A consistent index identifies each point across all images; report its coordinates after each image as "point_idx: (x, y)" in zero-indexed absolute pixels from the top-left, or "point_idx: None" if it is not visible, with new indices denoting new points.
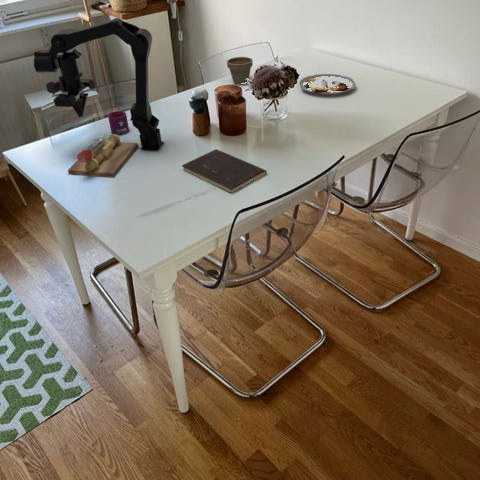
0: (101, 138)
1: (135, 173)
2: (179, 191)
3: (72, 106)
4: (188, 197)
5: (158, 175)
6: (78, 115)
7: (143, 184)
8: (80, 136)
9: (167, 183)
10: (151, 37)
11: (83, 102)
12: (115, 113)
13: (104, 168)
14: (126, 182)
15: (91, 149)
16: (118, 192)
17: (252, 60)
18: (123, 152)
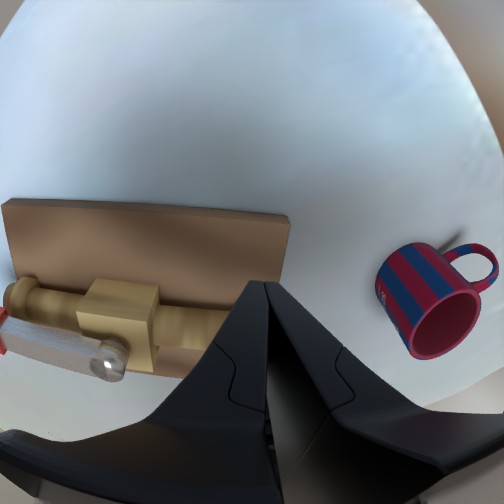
0: (112, 373)
1: (89, 385)
2: (71, 435)
3: (185, 380)
4: (62, 441)
5: (103, 418)
6: (245, 290)
7: (58, 397)
8: (390, 98)
9: (83, 427)
10: None
11: (282, 478)
12: (473, 302)
13: (53, 328)
14: (46, 370)
15: (15, 351)
16: (10, 359)
17: None
18: (174, 362)
